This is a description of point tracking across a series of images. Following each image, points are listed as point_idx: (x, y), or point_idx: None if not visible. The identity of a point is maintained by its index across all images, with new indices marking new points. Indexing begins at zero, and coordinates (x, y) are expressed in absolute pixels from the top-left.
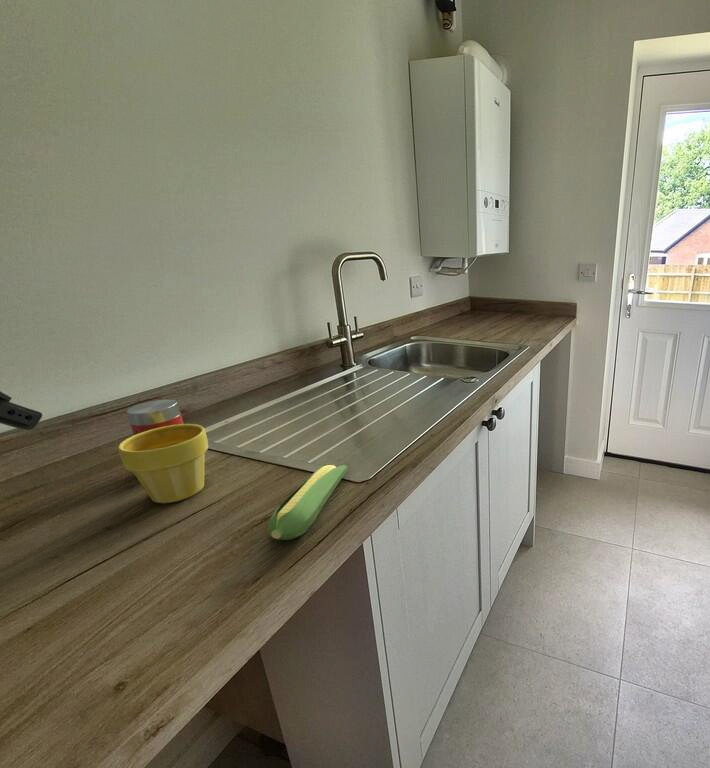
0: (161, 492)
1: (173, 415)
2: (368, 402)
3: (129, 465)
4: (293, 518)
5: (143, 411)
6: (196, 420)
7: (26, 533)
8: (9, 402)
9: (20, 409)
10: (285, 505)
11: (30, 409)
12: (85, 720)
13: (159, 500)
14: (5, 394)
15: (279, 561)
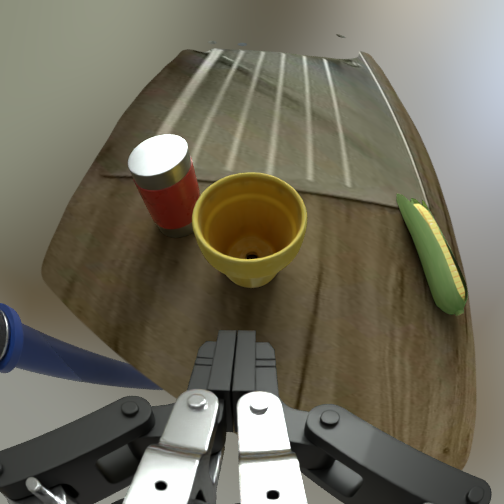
0: (264, 281)
1: (190, 159)
2: (294, 88)
3: (245, 275)
4: (467, 294)
5: (161, 167)
6: (125, 142)
7: (148, 361)
8: (253, 382)
9: (274, 375)
10: (455, 282)
11: (255, 346)
12: None
13: (255, 286)
14: (377, 428)
15: (456, 330)
